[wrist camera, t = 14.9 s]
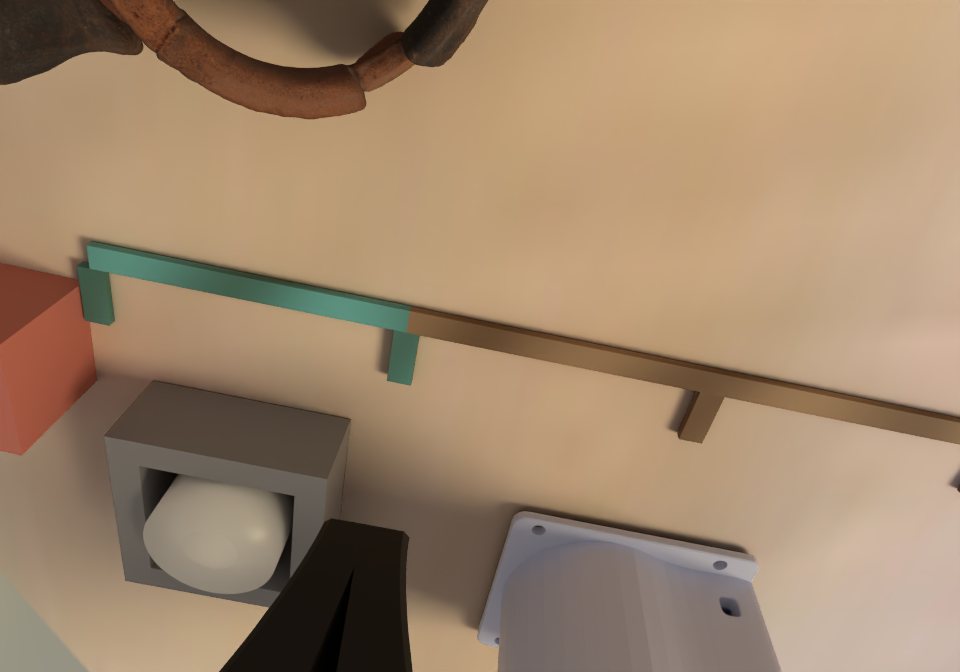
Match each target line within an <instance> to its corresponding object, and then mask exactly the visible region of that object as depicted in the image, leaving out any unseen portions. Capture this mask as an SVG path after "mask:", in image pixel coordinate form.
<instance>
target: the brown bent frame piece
mask: <svg viewBox="0 0 960 672" xmlns="http://www.w3.org/2000/svg"><path fill="white" fill-rule="evenodd" d="M487 1H488V0H429V1H428V3H427V4H426V6H425V7H424V8H423V10H422V11H421V12H420V14H419V15H418V16H417V18H416V19H415V20H414V21H413V22H412V23H411V25H410V26H409V27H408V28H407V29H406V30H405V31H404V32H393V33H391V34H389V35H387V36H386V37H384V38H383V39H382V40H380V41H379V42H378V43H377V44H376V45H375V46H373V47H372V48H371V49H369V50H368V51H367V52H366V53H365V54H364V55H363V56H362V57H360V58H359V59H358V60H357V61H356V63H354V64H352V65H344V64H338V65H334V66H327V67H320V68H295V67H284V66H279V65H274V64H270V63H266V62H262V61H259V60H256V59H253V58H251V57H249V56H246V55H244V54H242V53H240V52H238V51H236V50H234V49H232V48H230V47H228V46H227V45H225V44H223V43H221V42H220V41H218V40H217V39H215V38H214V37H212V36H211V35H210V34H208V33H207V32H206V31H205V30H204V29H203V28H201V27H200V26H199V25H198V24H197V23H196V22H195V21H194V20H193V19H192V18H191V17H190V16H189V15H188V14H187V13H186V12H185V11H184V10H182V9H180V8H179V7H178V6H177V5H176V4H175V3H174V2H173V0H0V85H7V84H11V83H16V82H19V81H21V80H23V79H26V78H29V77H32V76H34V75H38V74H41V73H44V72H46V71H49V70H51V69H52V68H54V67H56V66H58V65H59V64H61V63H63V62H65V61H66V60H68V59H70V58H72V57H75V56H78V55H81V54H84V53H88V52H103V51H105V52H112V53H117V54H121V55H138V54H140V53H141V52H142V50H143V43H144V44H145V45H146V46H147V47H148V48H150V49H151V50H152V51H154V52H155V53H157V57H158V59H159V60H161V61H163V62H164V63H166V64H167V65H169V66H170V67H172V68H174V69H176V70H178V71H180V72H181V73H182V74H183V75H184V76H185V77H187V78H188V79H190V80H192V81H194V82H197V83H198V84H200V85H201V86H203V87H205V88H206V89H208V90H209V91H211V92H213V93H215V94H217V95H219V96H221V97H222V98H224V99H226V100H229V101H231V102H233V103H236V104H238V105H241V106H244V107H246V108H248V109H251V110H254V111H257V112H264V113H268V114H274V115H279V116H282V117H298V118H303V119H318V118H325V117H332V116H341V115H345V114H350V113H354V112H357V111H360V110H363V109H364V108H365V106H366V99H365V95H364V91H367V92H369V91H372V90H374V89H377V88H379V87H381V86H383V85H384V84H386V83H388V82H390V81H392V80H393V79H395V78H397V77H398V76H400V75H401V74H403V73H404V72H405V71H407V70H408V69H410V68H411V67H412V66H413V65H415V64H416V65H420V66H428V67H436V66H441V65H443V64H444V63H445V62H446V61H447V60H449V59H450V58H451V57H452V56H453V54H454V53H455V52H456V50H457V49H458V48H459V46H460V45H461V44H462V43H463V42H464V40H465V39H466V37H467V36H468V35H469V33H470V32H471V30H472V29H473V27H474V25H475V24H476V21H477V19H478V17H479V14H480V13H481V11H482V9H483V8H484V6H485V5H486V3H487ZM142 41H143V43H142Z"/></svg>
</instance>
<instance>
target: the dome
mask: <svg viewBox="0 0 960 672" xmlns="http://www.w3.org/2000/svg"><path fill="white" fill-rule="evenodd" d="M293 514H294V496H292V495H287V494H282V493H277V492H271V491H266V490H261V489H256V488H251V487H245V486H240V485H235V484H230V483H225V482H219V481H214V480H209V479H204V478H198V477H193V476H188V475H183V474H178V475H177V477H176V478H175V480H174V481H173V483H172V484H171V486H170V487H169V488H168V490H167V491H166V493H165V494H164V496H163V497H162V499H161V500H160V502H159V503H158V505H157V506H156V508H155V509H154V511H153V512H152V514H151V515H150V517H149V518H148V520H147V521H146V523H145V526H144V530H143V539H144V544H145V547H146V549H147V551H148V553H149V555H150V556H151V557H152V559H153V560H154V561H155V563H156V564H157V565H158V566H159V567H160V568H161V569H163V570H164V571H165V572H166V573H168V574H169V575H170V576H172V577H173V578H175V579H177V580H178V581H180V582H182V583H184V584H186V585H189V586H191V587H194V588H197V589H200V590H203V591H207V592H212V593H219V594H239V593H245V592H249V591H252V590H255V589H257V588H259V587H261V586H262V585H264V584H265V583H266V582H267V581H268V580H269V579H270V578H271V576H272V575H273V573H274V570H275V568H276V566H277V563H278V561H279V558H280V556H281V554H282V551H283V549H284V546H285V544H286V542H287V539H288V537H289V535H290V532H291V530H292V527H293Z"/></svg>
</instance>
